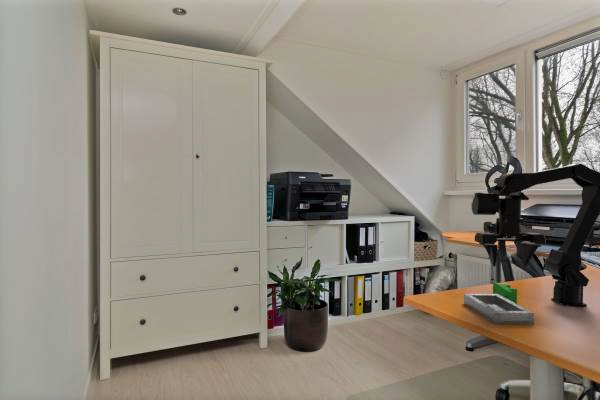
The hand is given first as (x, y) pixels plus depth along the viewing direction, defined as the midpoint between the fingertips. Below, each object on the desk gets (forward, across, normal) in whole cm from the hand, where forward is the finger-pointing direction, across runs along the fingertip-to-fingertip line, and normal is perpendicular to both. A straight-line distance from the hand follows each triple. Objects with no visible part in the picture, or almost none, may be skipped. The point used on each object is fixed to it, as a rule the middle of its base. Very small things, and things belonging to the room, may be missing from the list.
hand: (508, 266), depth 112 cm
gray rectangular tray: (+10, +10, +11) cm, 18 cm away
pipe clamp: (+11, +1, 0) cm, 11 cm away
